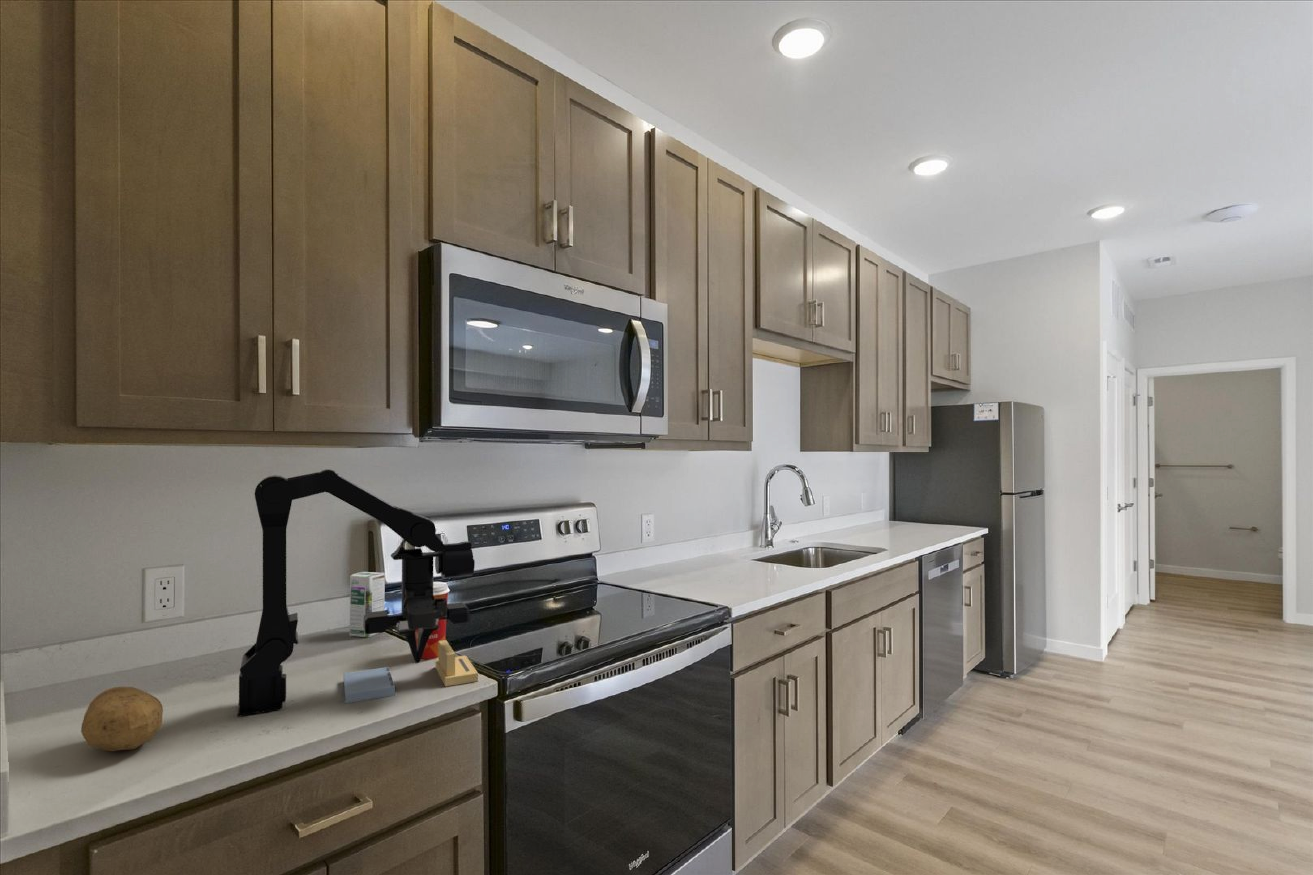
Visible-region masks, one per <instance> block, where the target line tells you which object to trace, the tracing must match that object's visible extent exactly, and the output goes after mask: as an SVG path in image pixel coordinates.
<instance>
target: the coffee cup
mask: <svg viewBox="0 0 1313 875" xmlns="http://www.w3.org/2000/svg"><path fill="white" fill-rule="evenodd" d="M450 591H451V590H450V588H449V586H448V583H446V582H443V581H433V596H434V599H440V598H446V600H447V602H448V598H449V592H450ZM437 624H438V626H439V629H438V630H434V631H433V632H432V634H431V635H430V637H429V639H428V641H427V643H426V646H425V649H424V652H423V655H422V657H421V660H434V659H439V641H443V640H446V635H447V634H446V633H447V632H446V631H447V619H441V620H439V622H437ZM418 632H419V628H418V629H416V630H415V638H416V646H417V643H418Z"/></svg>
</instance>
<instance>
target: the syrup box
mask: <svg viewBox="0 0 1313 875" xmlns="http://www.w3.org/2000/svg"><path fill="white" fill-rule="evenodd" d="M385 575H386V574H385V572H376V571H374V572H371V571H370V572H369V571H359V572H356V573H353V574H351V575H350V576H349V632H348V633H349V637H360V638H371V637H374V636H375V635H376V636H377V635H378V634H380V633H373V634H365V631H364V627H363V619H364V615H365V614H366V613H367V612H377V611H385V588H386V587H385V585H386V583H385V580H386V579H385V578H386V577H385Z"/></svg>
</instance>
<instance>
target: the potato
mask: <svg viewBox="0 0 1313 875" xmlns="http://www.w3.org/2000/svg"><path fill="white" fill-rule="evenodd" d="M163 713H164V708H163V705H162V703H161V701H160V699H158V698H157V697H156V696H154V695H153V694H151V693H148V692H147V691H144V690H142V689H140V688H136V687H133V686H117V687H112V688H111V687H110V688H108V689H105V690H104V691H102V692H101V693H99V694H98V695H97V696H95V698H94V699H93V700H92V701H91V702H89V705H88V706H87V709H86V712H85V713H84V715H83V720H82V722H81V728H80V729H81V730H80V733H81V735H82V737H83V738H84V740H85V742H86V744H87V745H89V746H91V747H94V748H97V749H100V750H103V751H106V752H116V751H127V750H128V751H129V750H131V751H132V750H136V749H137V748H139V747H140V746H142V745H144V744H145V743H147V742H149V741H150V740H151V739H153V737H154V736H155V735H156V733H157V732H158V730H160V728H161V727H162V725H163V715H164V714H163Z"/></svg>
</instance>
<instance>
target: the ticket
mask: <svg viewBox="0 0 1313 875" xmlns="http://www.w3.org/2000/svg"><path fill="white" fill-rule="evenodd" d="M395 687H396V686H395V684H394V680H393V677H392V674H391V670H390V667H389V666H385V667H379V668H373V669H365V670H360V671H359V670H358V671H353V672H345V673H343V689H344V700H345V701H344V702H345V704H350V703H357V702H363V701H367V700H372V699H381V698H386V697H392V696H395V695H396V690H395V689H396V688H395Z"/></svg>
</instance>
